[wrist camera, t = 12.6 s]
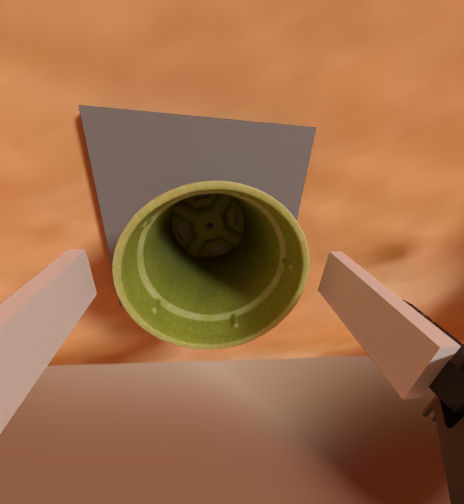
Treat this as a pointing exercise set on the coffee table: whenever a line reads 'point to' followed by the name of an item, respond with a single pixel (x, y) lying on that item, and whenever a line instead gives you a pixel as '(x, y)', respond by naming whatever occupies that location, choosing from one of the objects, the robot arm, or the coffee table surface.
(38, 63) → the coffee table surface
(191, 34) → the coffee table surface
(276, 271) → the plant pot
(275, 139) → the mat
